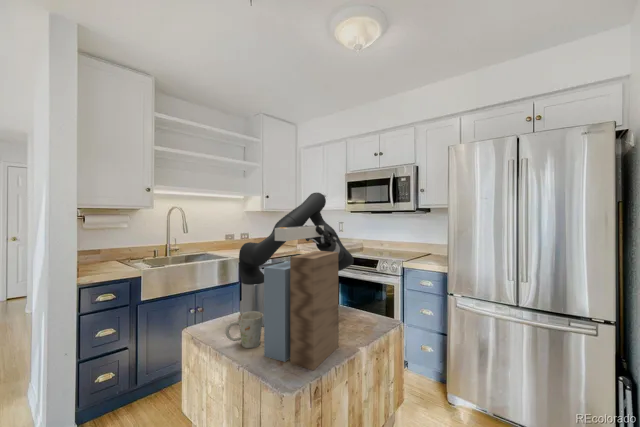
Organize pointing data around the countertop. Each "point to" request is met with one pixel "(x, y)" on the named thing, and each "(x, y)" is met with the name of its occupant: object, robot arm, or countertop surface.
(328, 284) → the walnut stand
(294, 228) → the light grey square-ended block
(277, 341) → the blue stand
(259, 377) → the countertop surface
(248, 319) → the mug
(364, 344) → the countertop surface
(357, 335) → the countertop surface
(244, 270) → the robot arm
